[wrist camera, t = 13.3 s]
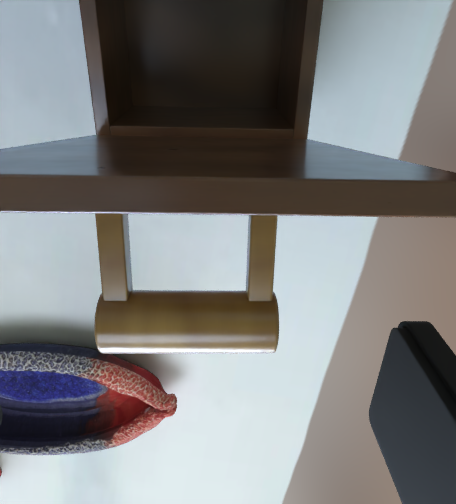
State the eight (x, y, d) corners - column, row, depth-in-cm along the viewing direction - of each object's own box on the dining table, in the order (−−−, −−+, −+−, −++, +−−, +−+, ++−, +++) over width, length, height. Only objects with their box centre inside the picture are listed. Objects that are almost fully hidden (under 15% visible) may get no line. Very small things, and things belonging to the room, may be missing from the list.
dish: (-111, 324, 42) (-149, 357, 38) (180, 336, 44) (177, 369, 40) (-71, 422, 50) (-99, 460, 45) (177, 429, 52) (174, 465, 47)
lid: (-159, 171, 8) (-93, 398, 10) (498, 181, 8) (447, 395, 10) (94, 135, 25) (101, 220, 26) (308, 139, 25) (301, 222, 27)
